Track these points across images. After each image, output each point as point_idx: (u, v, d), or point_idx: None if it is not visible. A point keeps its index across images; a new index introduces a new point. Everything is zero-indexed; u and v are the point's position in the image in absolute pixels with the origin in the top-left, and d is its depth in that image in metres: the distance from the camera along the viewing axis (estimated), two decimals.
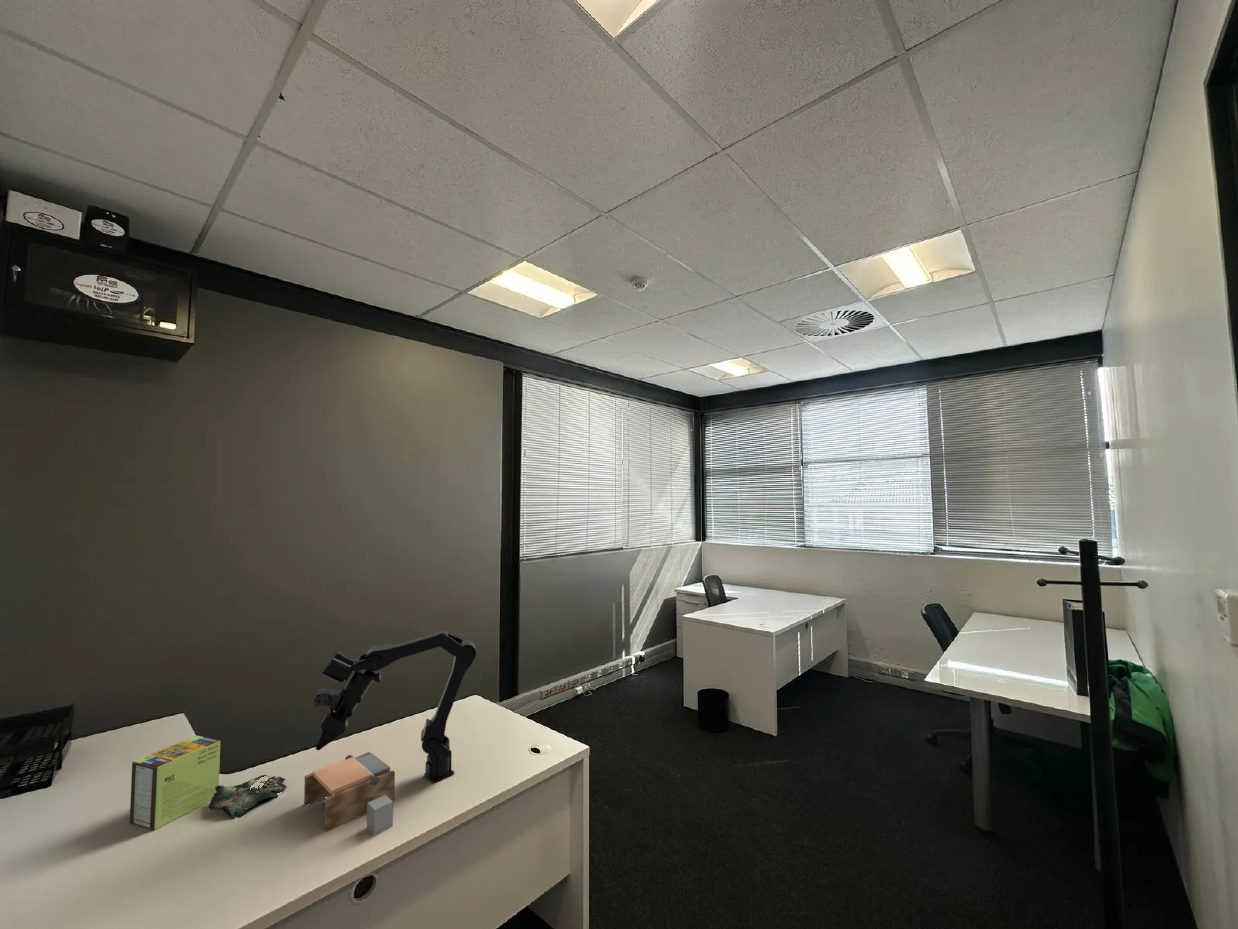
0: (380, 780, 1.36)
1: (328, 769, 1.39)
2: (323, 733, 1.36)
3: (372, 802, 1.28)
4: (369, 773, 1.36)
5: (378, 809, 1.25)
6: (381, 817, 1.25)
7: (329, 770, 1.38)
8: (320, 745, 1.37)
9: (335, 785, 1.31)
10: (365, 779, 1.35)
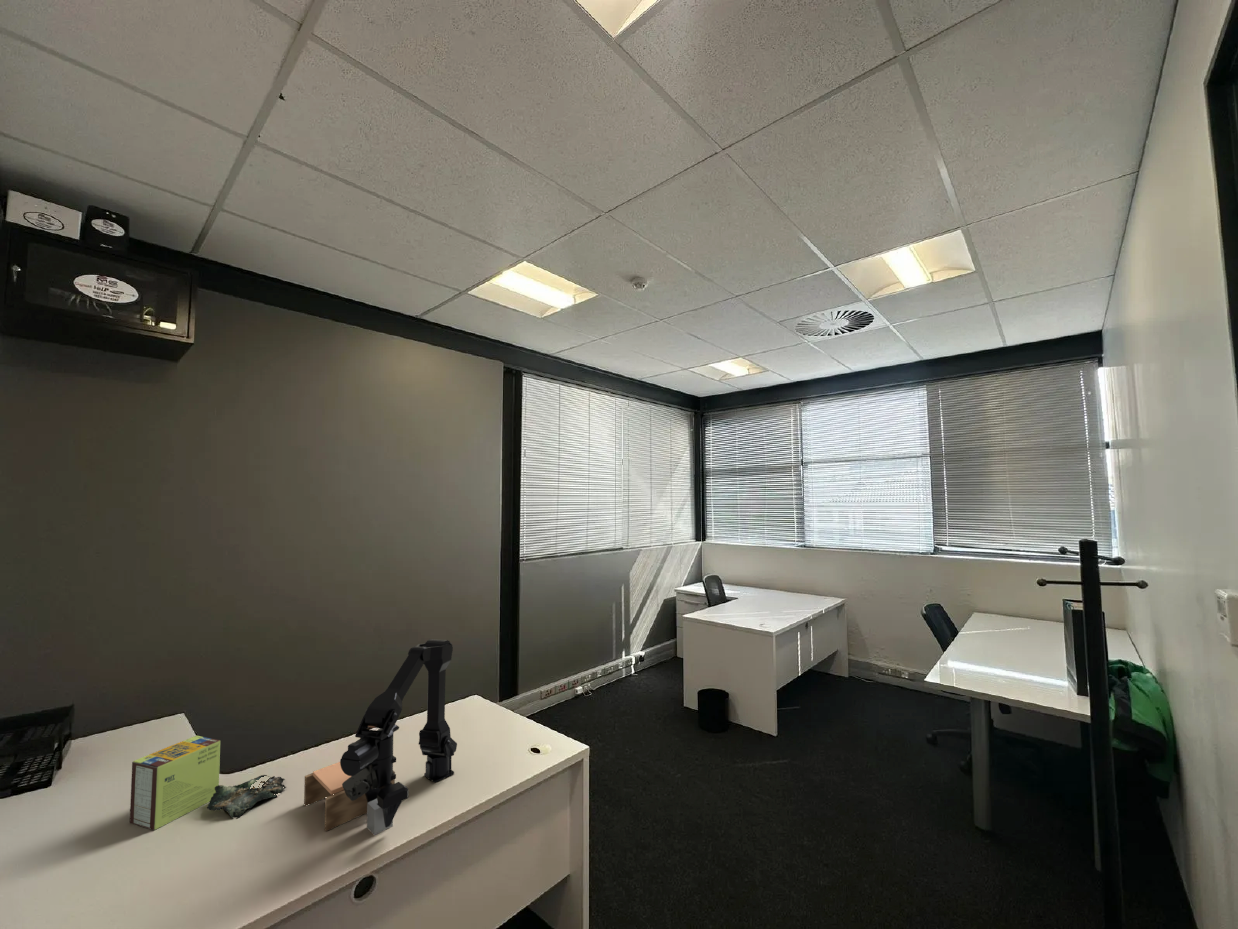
0: None
1: (328, 769, 1.39)
2: (386, 810, 1.23)
3: (372, 802, 1.28)
4: None
5: (378, 809, 1.25)
6: (381, 817, 1.25)
7: (329, 770, 1.38)
8: (389, 821, 1.24)
9: (335, 785, 1.31)
10: None
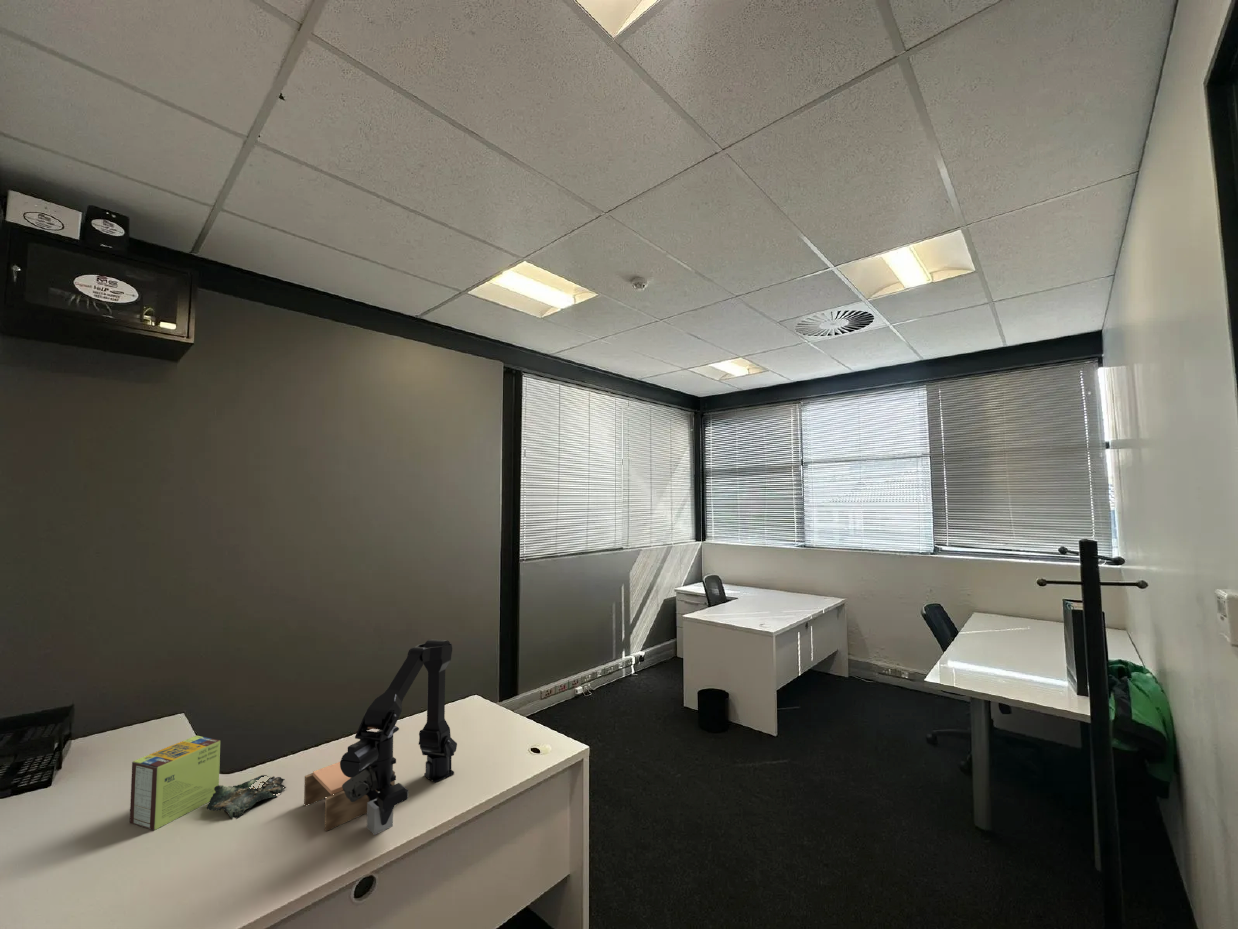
0: None
1: (328, 769, 1.39)
2: (382, 808, 1.24)
3: (372, 802, 1.28)
4: None
5: (378, 809, 1.25)
6: None
7: (329, 770, 1.38)
8: (385, 819, 1.25)
9: (335, 785, 1.31)
10: None
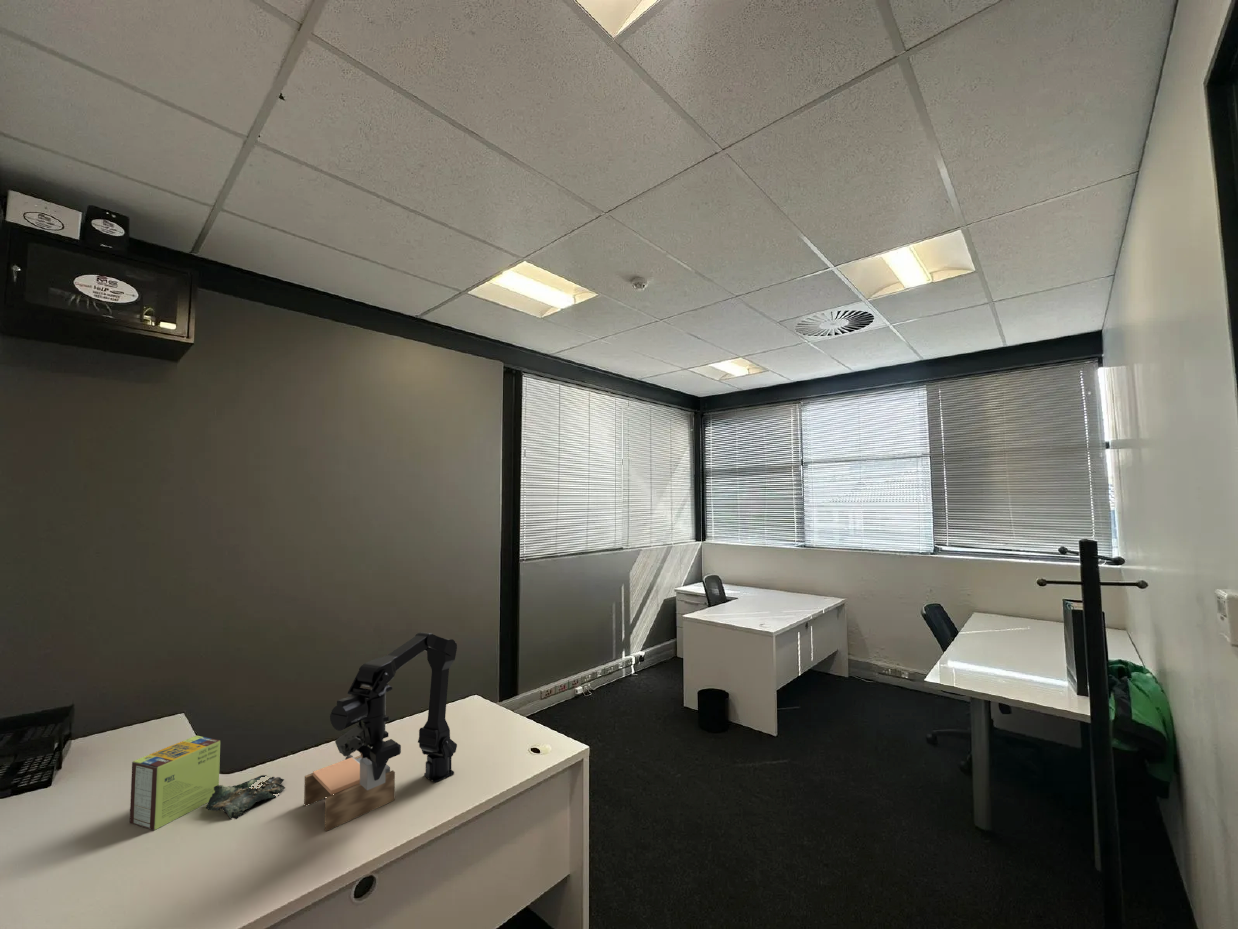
0: None
1: (328, 769, 1.39)
2: (375, 763, 1.26)
3: (365, 759, 1.29)
4: None
5: (371, 765, 1.27)
6: None
7: (329, 770, 1.38)
8: (378, 774, 1.27)
9: (335, 785, 1.31)
10: None
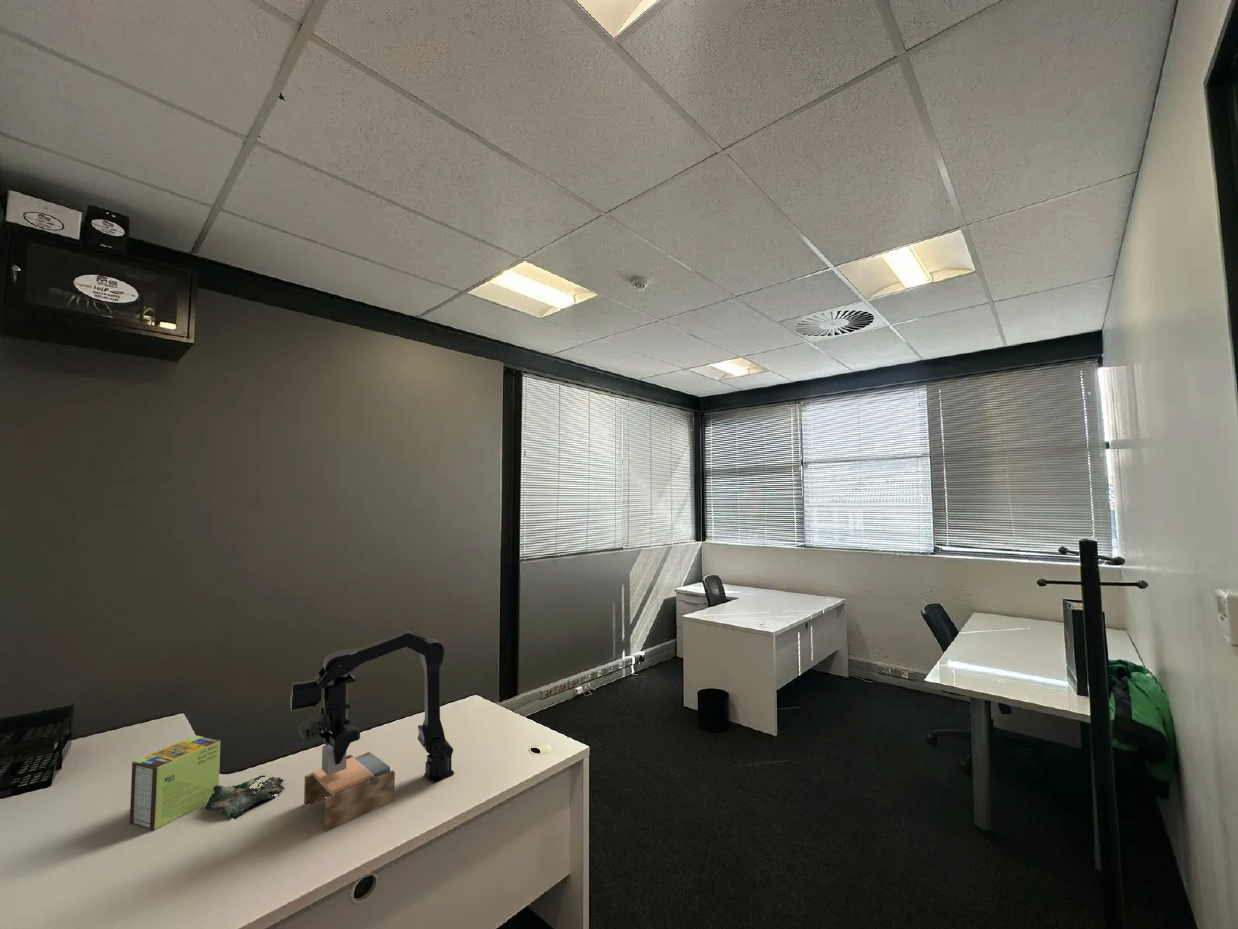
0: (380, 780, 1.36)
1: None
2: (336, 748, 1.32)
3: (327, 746, 1.36)
4: (369, 773, 1.36)
5: (332, 751, 1.33)
6: None
7: None
8: (339, 759, 1.34)
9: (335, 785, 1.31)
10: (365, 779, 1.35)
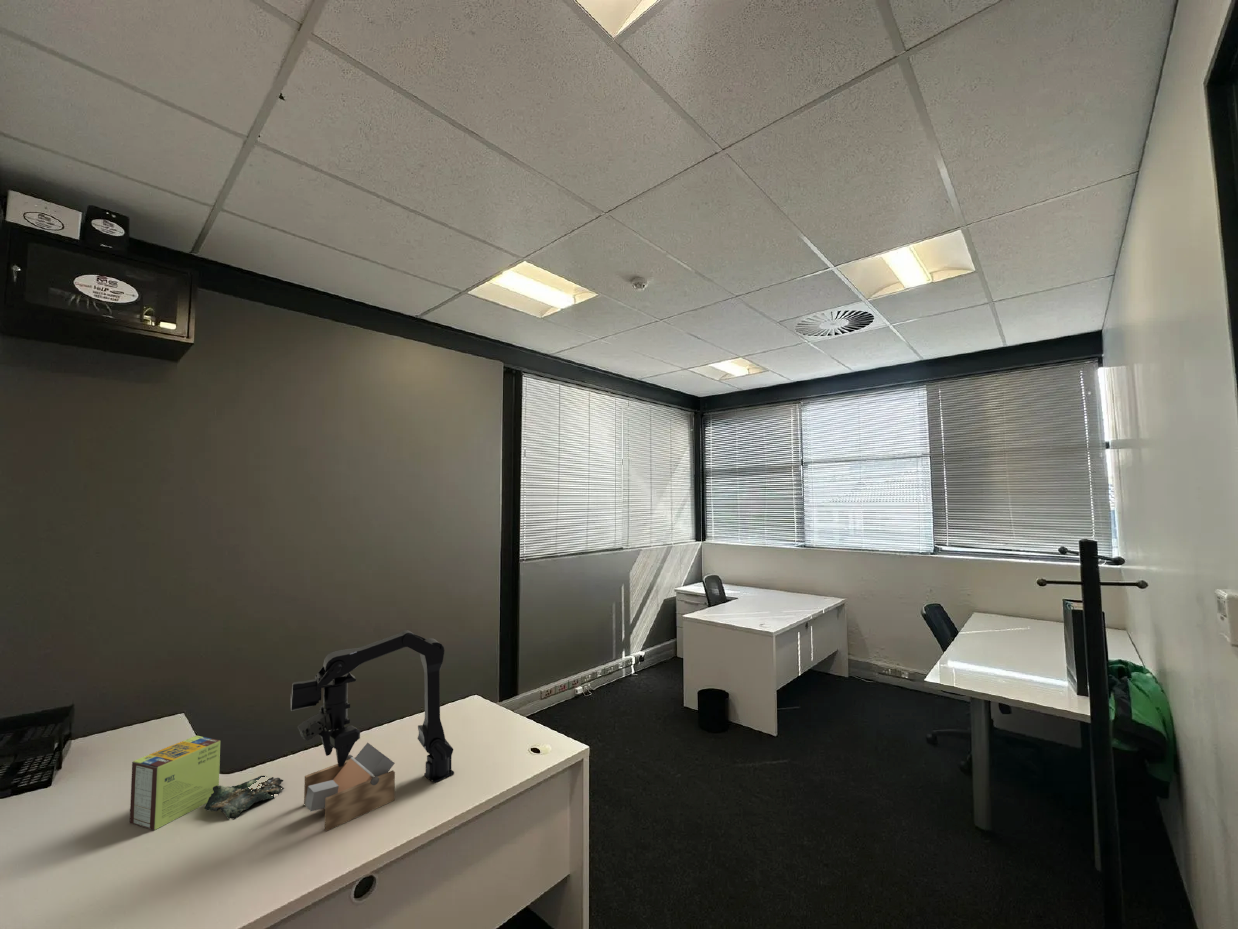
0: (380, 780, 1.36)
1: None
2: (339, 751, 1.31)
3: (306, 802, 1.31)
4: (368, 775, 1.36)
5: (312, 807, 1.29)
6: (322, 801, 1.31)
7: None
8: (342, 761, 1.32)
9: None
10: None
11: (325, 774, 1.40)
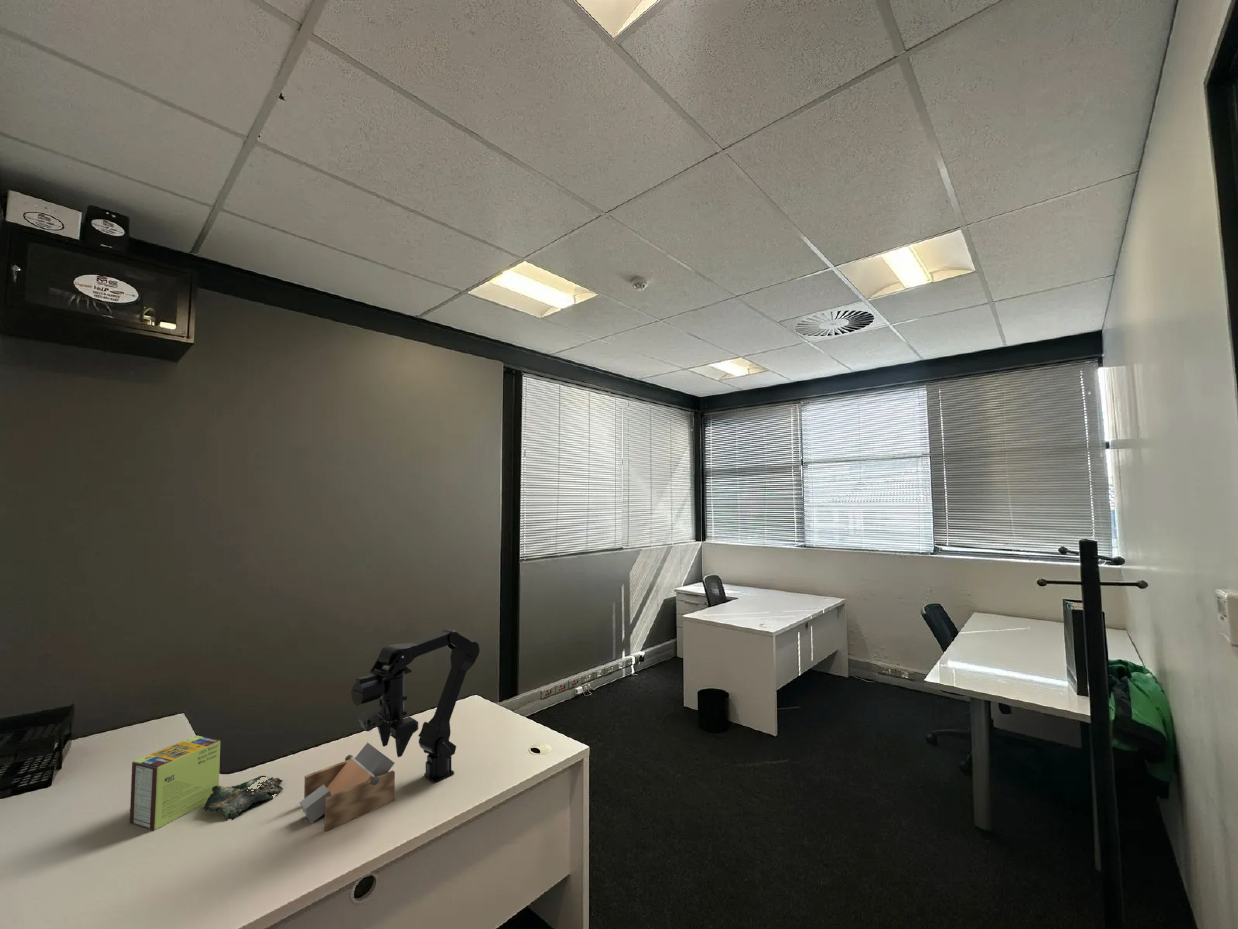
0: (380, 780, 1.36)
1: (333, 784, 1.40)
2: (398, 741, 1.35)
3: None
4: (368, 775, 1.36)
5: (311, 819, 1.29)
6: (319, 810, 1.30)
7: (334, 786, 1.39)
8: (401, 751, 1.36)
9: None
10: None
11: (325, 774, 1.40)
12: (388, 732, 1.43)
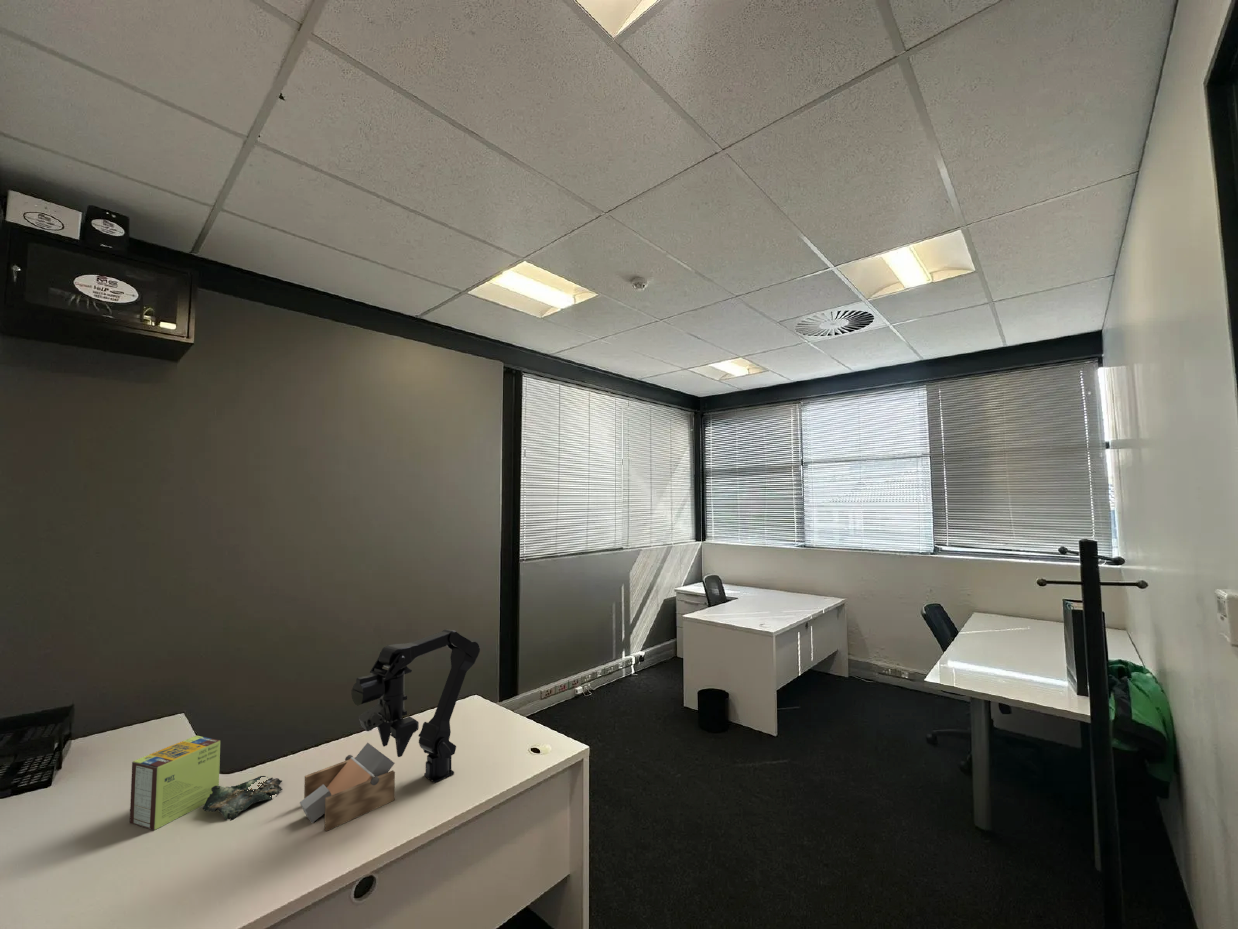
0: (380, 780, 1.36)
1: (333, 784, 1.40)
2: (398, 741, 1.35)
3: None
4: (368, 775, 1.36)
5: (311, 819, 1.29)
6: (319, 810, 1.30)
7: (334, 786, 1.39)
8: (401, 751, 1.36)
9: None
10: None
11: (325, 774, 1.40)
12: (388, 732, 1.43)
